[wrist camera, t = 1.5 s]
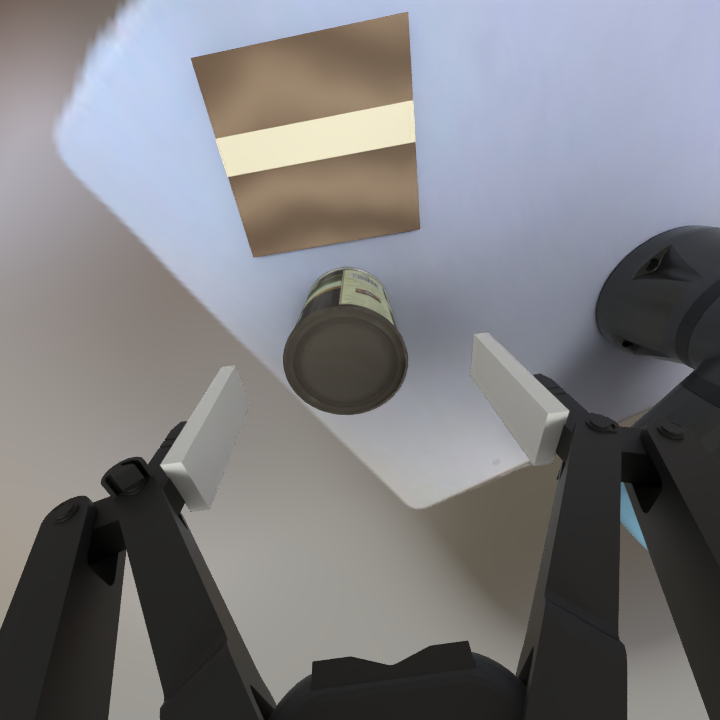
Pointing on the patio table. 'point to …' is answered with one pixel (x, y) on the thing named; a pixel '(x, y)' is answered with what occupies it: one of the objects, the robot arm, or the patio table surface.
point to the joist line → (318, 139)
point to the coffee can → (346, 345)
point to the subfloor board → (308, 102)
